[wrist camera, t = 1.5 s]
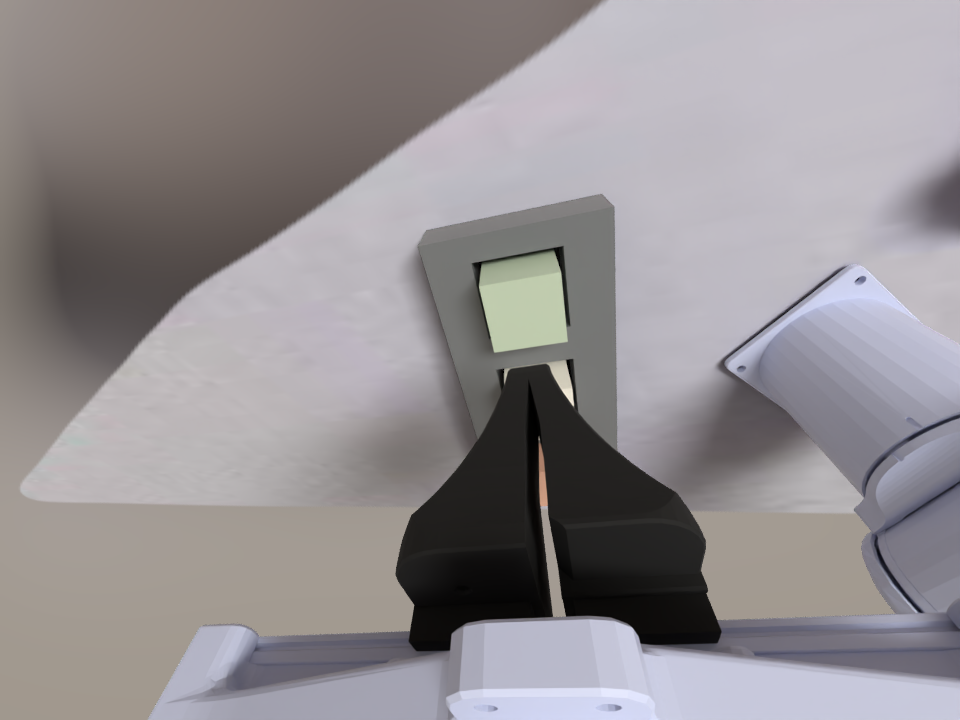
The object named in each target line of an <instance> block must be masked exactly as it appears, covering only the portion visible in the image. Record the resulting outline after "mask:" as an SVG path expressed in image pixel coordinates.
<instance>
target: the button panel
mask: <svg viewBox="0 0 960 720" xmlns="http://www.w3.org/2000/svg"><path fill="white" fill-rule="evenodd" d="M554 247H559V255H560V265H561V275H562V286H563V296H564V308H565V318H566V329H567V339H568V342H563V343H556V344H549V345H543V346H536V347H529V348H523V349H516V350H509V351H503V352H496V353H494V349H493V345H492V341H491V336H490V332H489V328H488V323H487V319H486V315H485V310H484V306H483V302H482V297H481V293H480V289H479V283H480V269H479V265H478V262H480V261H486V260H491V259H496V258H502V257H507V256H512V255H517V254H523V253H528V252H533V251H539V250H544V249H549V248H554ZM418 248H419V252H420V255H421V258H422V261H423V265H424V268H425V271H426V274H427V278H428V281H429V284H430V287H431V291H432V294H433V297H434V300H435V303H436V307H437V310H438V313H439V316H440V320H441V323H442V326H443V329H444V333H445V336H446V339H447V342H448V346H449V349H450V352H451V355H452V359H453V362H454V365H455V368H456V372H457V375H458V378H459V381H460V384H461V388H462V391H463V394H464V397H465V401H466V404H467V407H468V410H469V414H470V417H471V420H472V423H473V427H474V430H475V433H476V436H477V440H478V439H479V437H480V436H481V434H482V432H483V430H484V429H485V427H486V425H487V423H488V421H489V419H490V417H491V415H492V413H493V411H494V409H495V407H496V404H497V402H498V400H499V397H500V395H501V392H502V390H503V387H504V377H503V372H502V369H505V368H512V367H519V366H526V365H533V364H540V363H547V362H554V361H561V360H568V359H570V369H571V379H572V389H573V390H572V391H573V401H574V408H575V409H576V410H577V411H578V413H579V414H580V415H581V416H582V417H583V419H584V420H585V421H586V422H587V423H588V424H589V425H590V426H591V427H592V428H593V429H594V430H595V431H596V432H597V433H598V434H599V435H600V436H601V437H602V438H603V439H604V440H605V441H606V442H607V443H608V444H609V445H610V446H611V447H613V448H614V449H615V450H616V451H617V389H616V305H615V221H614V206H613V205H612V204H611V203H610V202H609V201H608V200H607V199H606V198H605V197H604V196H603V195H602V194H600V195H595V196H590V197H585V198H580V199H576V200H571V201H566V202H561V203H556V204H551V205H547V206H542V207H537V208H532V209H527V210H523V211H518V212H513V213H508V214H503V215H498V216H494V217H489V218H484V219H479V220H474V221H470V222H465V223H460V224H455V225H450V226H445V227H441V228H436V229H431V230H426V232H425V234H424V236H423V238H422V239H421V241H420V243H419V245H418ZM539 443H540V440H539Z"/></svg>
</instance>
